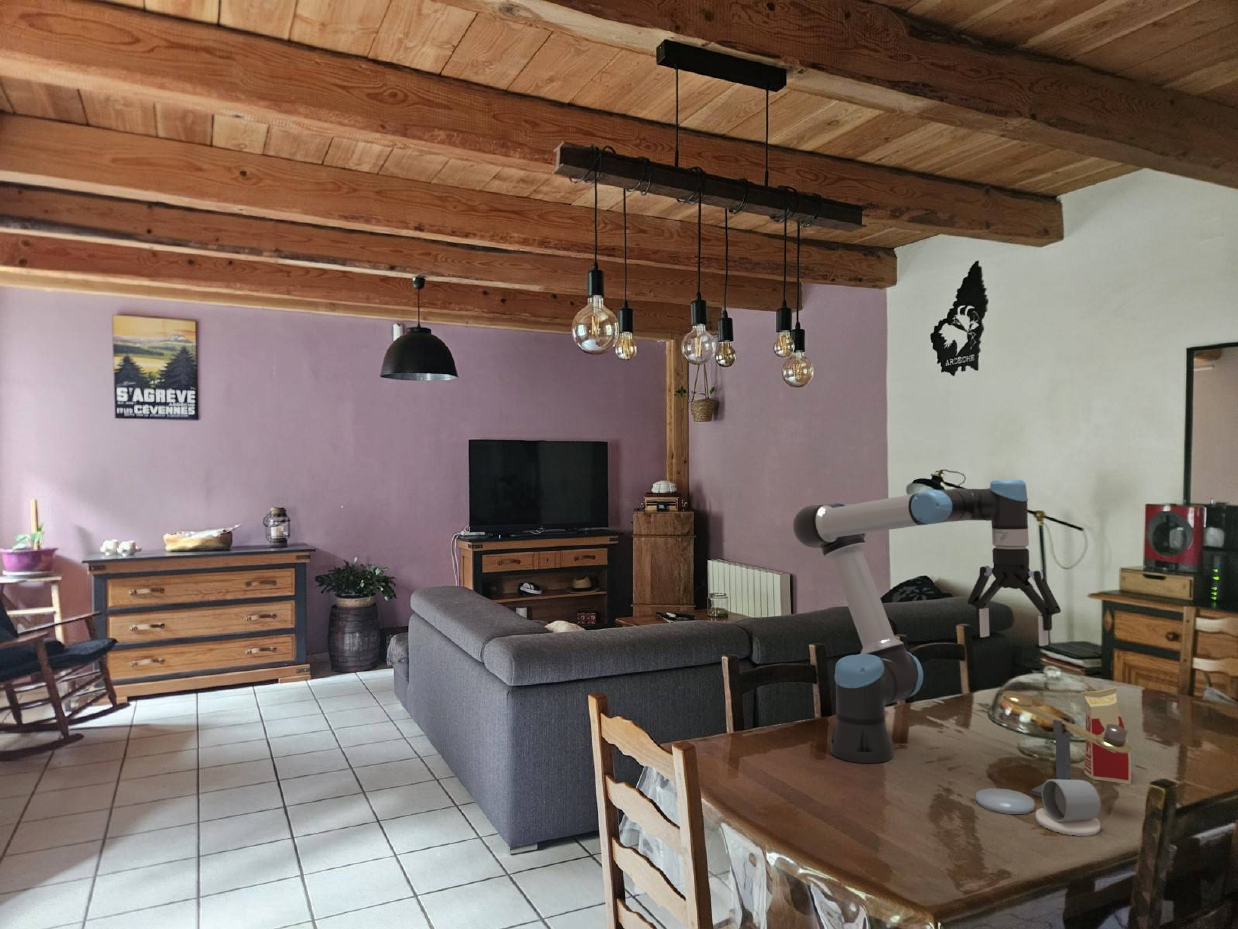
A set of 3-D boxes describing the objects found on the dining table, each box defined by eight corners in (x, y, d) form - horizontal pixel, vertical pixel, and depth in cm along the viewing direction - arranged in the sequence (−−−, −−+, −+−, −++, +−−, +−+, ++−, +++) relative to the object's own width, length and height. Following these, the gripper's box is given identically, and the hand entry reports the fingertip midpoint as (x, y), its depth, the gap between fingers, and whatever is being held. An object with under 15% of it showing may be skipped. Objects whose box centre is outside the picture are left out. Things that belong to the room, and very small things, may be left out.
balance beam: (996, 700, 178) (1000, 681, 177) (1009, 695, 182) (1014, 676, 181) (1120, 760, 158) (1126, 739, 157) (1133, 753, 161) (1139, 733, 160)
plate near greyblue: (965, 802, 168) (965, 797, 168) (993, 789, 174) (993, 784, 174) (1017, 819, 159) (1017, 814, 159) (1044, 805, 165) (1044, 800, 165)
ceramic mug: (1106, 825, 153) (1104, 784, 153) (1067, 828, 151) (1065, 787, 152) (1067, 804, 163) (1065, 766, 163) (1030, 807, 162) (1029, 769, 162)
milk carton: (1126, 771, 183) (1123, 683, 184) (1133, 785, 175) (1129, 693, 175) (1081, 765, 187) (1078, 680, 188) (1085, 779, 179) (1082, 689, 179)
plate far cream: (1025, 822, 157) (1025, 816, 158) (1052, 807, 164) (1052, 802, 164) (1084, 841, 149) (1084, 835, 149) (1110, 825, 155) (1110, 819, 155)
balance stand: (1031, 794, 171) (1028, 717, 171) (1049, 785, 176) (1046, 710, 176) (1080, 809, 163) (1077, 728, 163) (1098, 799, 168) (1095, 720, 168)
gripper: (950, 545, 190) (953, 635, 190) (1059, 551, 170) (1062, 651, 170) (967, 543, 195) (970, 631, 194) (1075, 549, 175) (1078, 646, 174)
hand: (1013, 640), depth 182 cm, fingers open, 13 cm apart
